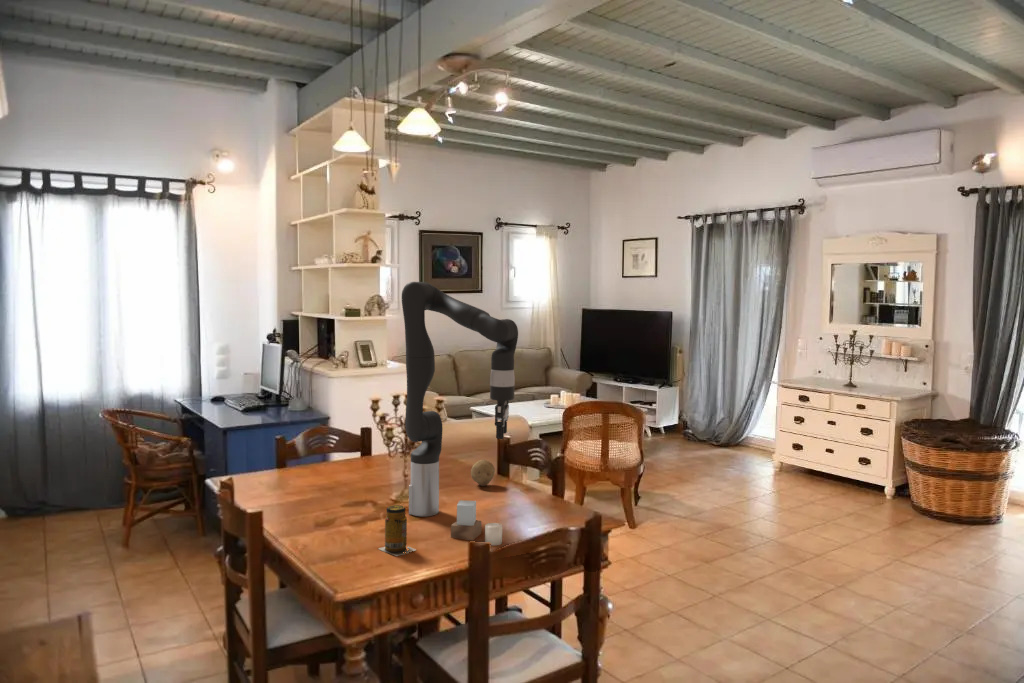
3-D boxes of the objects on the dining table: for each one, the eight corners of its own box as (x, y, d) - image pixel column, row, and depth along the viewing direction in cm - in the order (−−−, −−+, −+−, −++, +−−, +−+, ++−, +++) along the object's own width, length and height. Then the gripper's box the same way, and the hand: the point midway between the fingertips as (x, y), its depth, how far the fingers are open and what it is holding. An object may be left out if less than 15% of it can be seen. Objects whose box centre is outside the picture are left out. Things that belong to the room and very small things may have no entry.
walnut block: (450, 538, 219) (450, 525, 219) (459, 531, 225) (460, 518, 225) (472, 541, 217) (472, 528, 216) (481, 533, 223) (481, 520, 223)
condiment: (398, 543, 214) (398, 502, 213) (416, 550, 208) (417, 508, 207) (377, 549, 208) (377, 507, 207) (396, 557, 203) (396, 514, 202)
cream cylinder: (483, 545, 213) (483, 528, 213) (486, 539, 218) (486, 522, 218) (500, 545, 212) (501, 529, 212) (503, 540, 217) (503, 523, 217)
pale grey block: (473, 525, 218) (473, 505, 218) (456, 524, 219) (456, 505, 218) (475, 520, 223) (476, 500, 223) (459, 519, 224) (459, 500, 223)
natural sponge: (491, 490, 269) (491, 463, 268) (467, 488, 270) (468, 462, 270) (496, 483, 278) (496, 457, 277) (473, 482, 279) (473, 456, 278)
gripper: (511, 387, 220) (511, 441, 221) (516, 381, 234) (516, 431, 235) (487, 386, 221) (486, 440, 222) (493, 380, 235) (492, 431, 236)
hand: (501, 435), depth 229 cm, fingers open, 8 cm apart
